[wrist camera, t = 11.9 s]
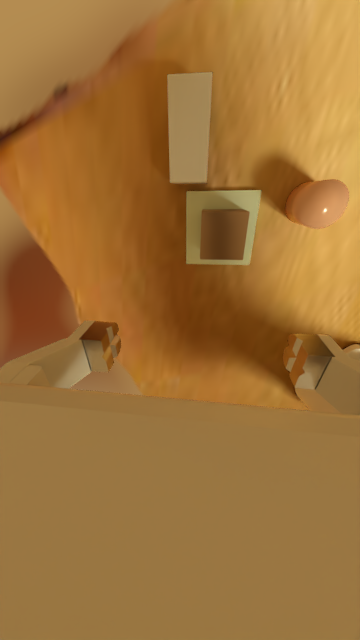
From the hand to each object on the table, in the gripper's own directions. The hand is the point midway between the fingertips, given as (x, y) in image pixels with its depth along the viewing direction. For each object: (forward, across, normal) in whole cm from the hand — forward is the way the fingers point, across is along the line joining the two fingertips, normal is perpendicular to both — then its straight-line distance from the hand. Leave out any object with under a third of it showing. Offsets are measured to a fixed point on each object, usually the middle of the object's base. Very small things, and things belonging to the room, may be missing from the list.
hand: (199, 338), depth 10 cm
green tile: (+22, -2, -2) cm, 23 cm away
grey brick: (+23, +2, -11) cm, 25 cm away
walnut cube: (+22, -2, -2) cm, 22 cm away
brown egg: (+22, -12, -5) cm, 26 cm away
